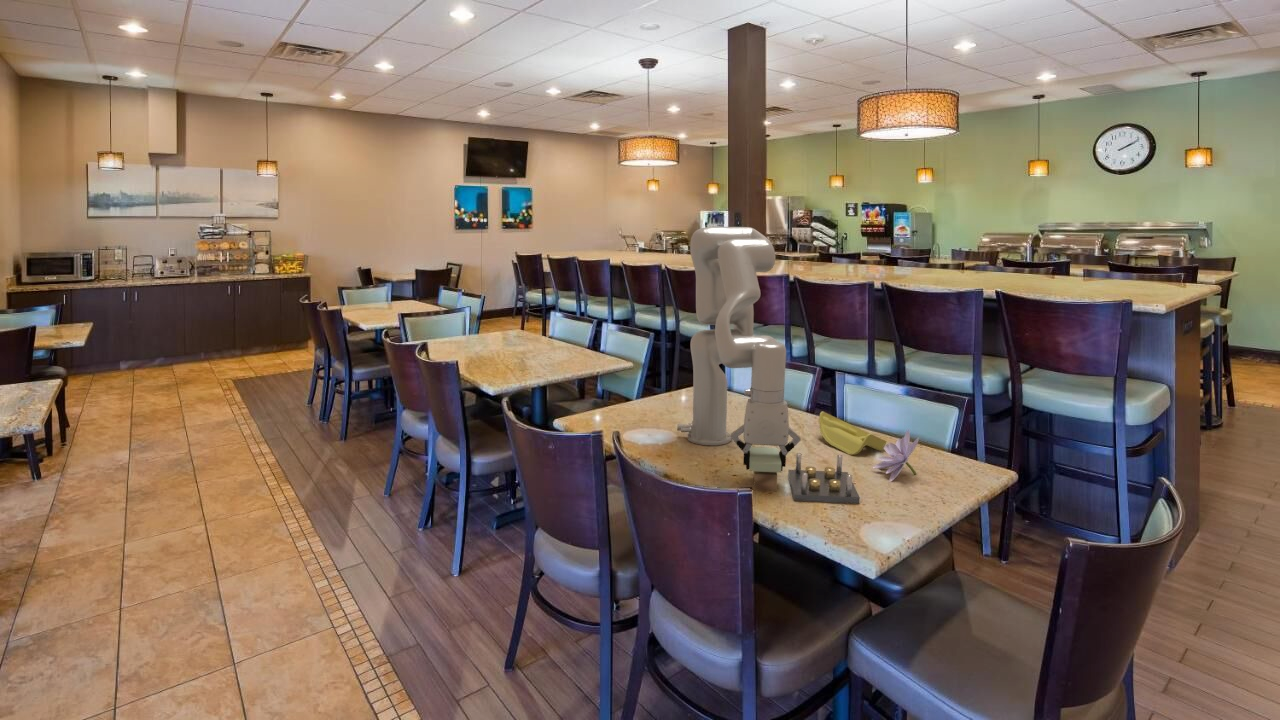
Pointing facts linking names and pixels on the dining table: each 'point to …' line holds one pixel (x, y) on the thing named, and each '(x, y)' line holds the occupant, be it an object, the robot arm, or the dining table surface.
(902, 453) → the water lily
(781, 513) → the dining table surface
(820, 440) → the dining table surface
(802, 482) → the chassis
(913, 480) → the dining table surface
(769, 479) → the block
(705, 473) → the dining table surface
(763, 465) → the board
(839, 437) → the plastic component
